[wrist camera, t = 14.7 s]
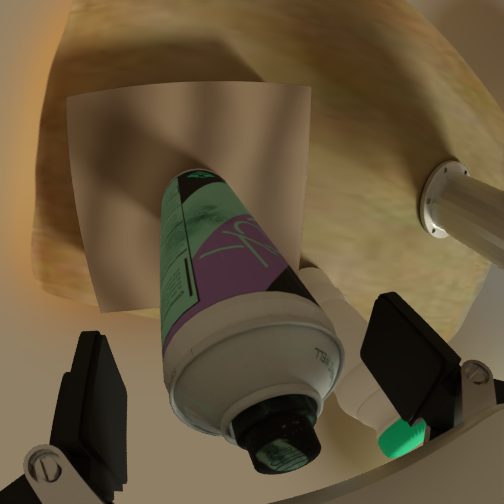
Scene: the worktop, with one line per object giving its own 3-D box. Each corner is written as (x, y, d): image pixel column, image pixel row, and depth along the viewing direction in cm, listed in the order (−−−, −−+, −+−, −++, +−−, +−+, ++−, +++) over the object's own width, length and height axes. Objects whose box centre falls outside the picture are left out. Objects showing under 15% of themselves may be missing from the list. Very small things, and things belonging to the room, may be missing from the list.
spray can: (214, 244, 25) (311, 490, 8) (151, 222, 23) (151, 498, 6) (243, 184, 24) (426, 390, 6) (178, 157, 21) (237, 384, 4)
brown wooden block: (277, 89, 28) (311, 86, 21) (271, 253, 36) (296, 290, 30) (91, 99, 24) (65, 97, 17) (111, 270, 32) (100, 312, 25)
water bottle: (266, 297, 39) (360, 471, 18) (303, 255, 38) (433, 415, 16) (302, 317, 43) (395, 466, 21) (336, 280, 41) (453, 419, 20)
